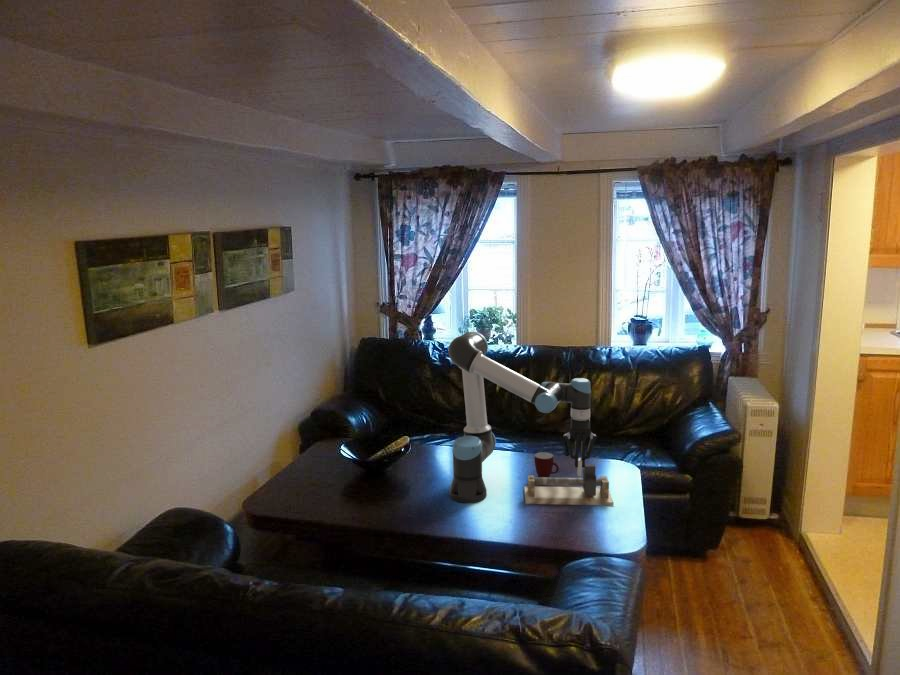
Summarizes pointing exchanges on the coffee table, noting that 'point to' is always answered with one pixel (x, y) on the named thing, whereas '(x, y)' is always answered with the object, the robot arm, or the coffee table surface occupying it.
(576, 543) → the coffee table surface
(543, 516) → the coffee table surface
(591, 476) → the collar
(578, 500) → the pipe rig
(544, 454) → the mug
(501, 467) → the coffee table surface
